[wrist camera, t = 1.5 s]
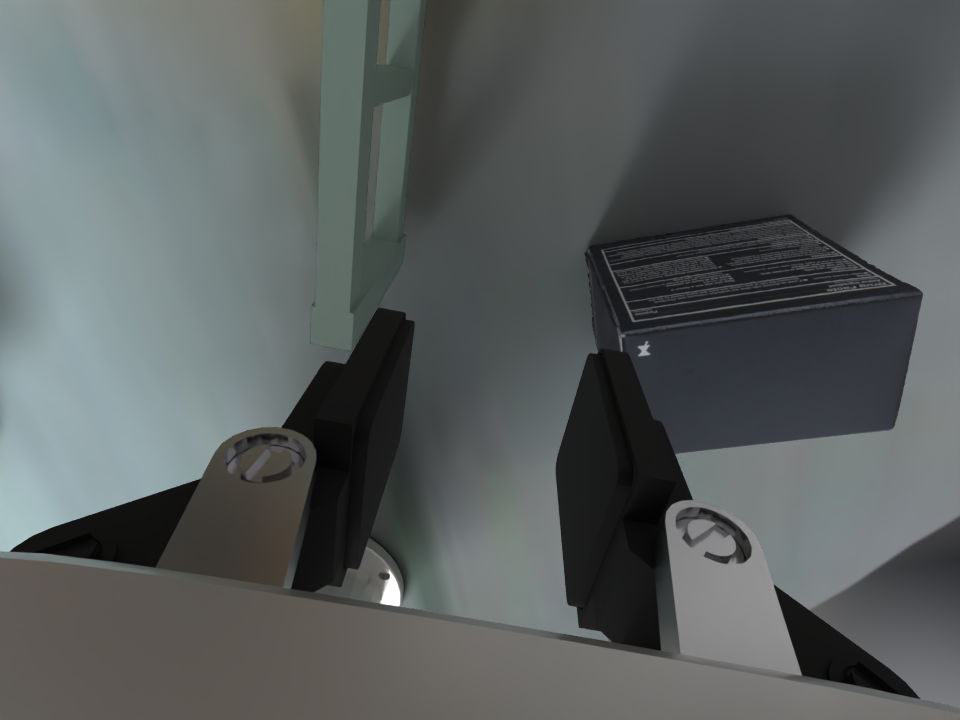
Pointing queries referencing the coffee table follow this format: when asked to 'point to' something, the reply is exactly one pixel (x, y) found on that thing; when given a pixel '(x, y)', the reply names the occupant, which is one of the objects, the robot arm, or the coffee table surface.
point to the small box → (755, 332)
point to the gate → (362, 161)
